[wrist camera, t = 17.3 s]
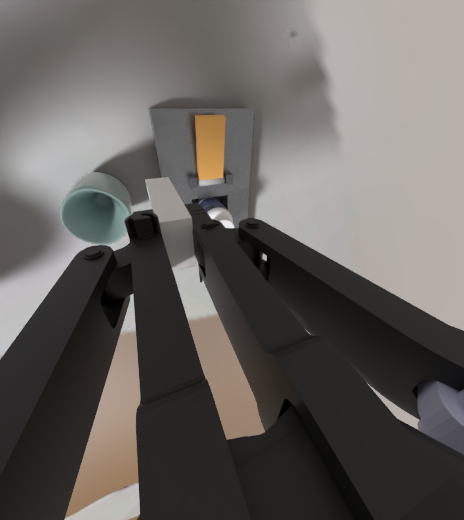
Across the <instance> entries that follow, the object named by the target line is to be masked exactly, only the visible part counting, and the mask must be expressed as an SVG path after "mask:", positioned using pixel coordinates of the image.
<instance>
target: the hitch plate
mask: <svg viewBox="0 0 464 520" xmlns="http://www.w3.org/2000/svg"><path fill="white" fill-rule="evenodd" d="M149 114H150V119H151V125H152V130H153V136H154V142H155V147H156V153H157V158H158V164H159V170H160V175H161V178H163V177H169V179H170V181H171V183H172V184H173V186H174V188H175V189H176V191H177V193H178V195H179V196H180V198H181V200H182V201H183V203H184V204H190V203H192V199H200V198H209V197H217V196H223V205H224V207H225V208H226V209H227V210H228V211H229V213H230V214H231V216H232V219H233V224H234V228H239V222H240V221H242V220H244V219H248V206H249V190H250V173H251V156H252V139H253V122H254V109H251V108H149ZM195 115H224V116H225V117H226V119H225V144H224V169H223V175H224V179H225V182H224V184H216V185H207V186H198V183H197V177H198V174H197V152H196V130H195Z"/></svg>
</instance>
